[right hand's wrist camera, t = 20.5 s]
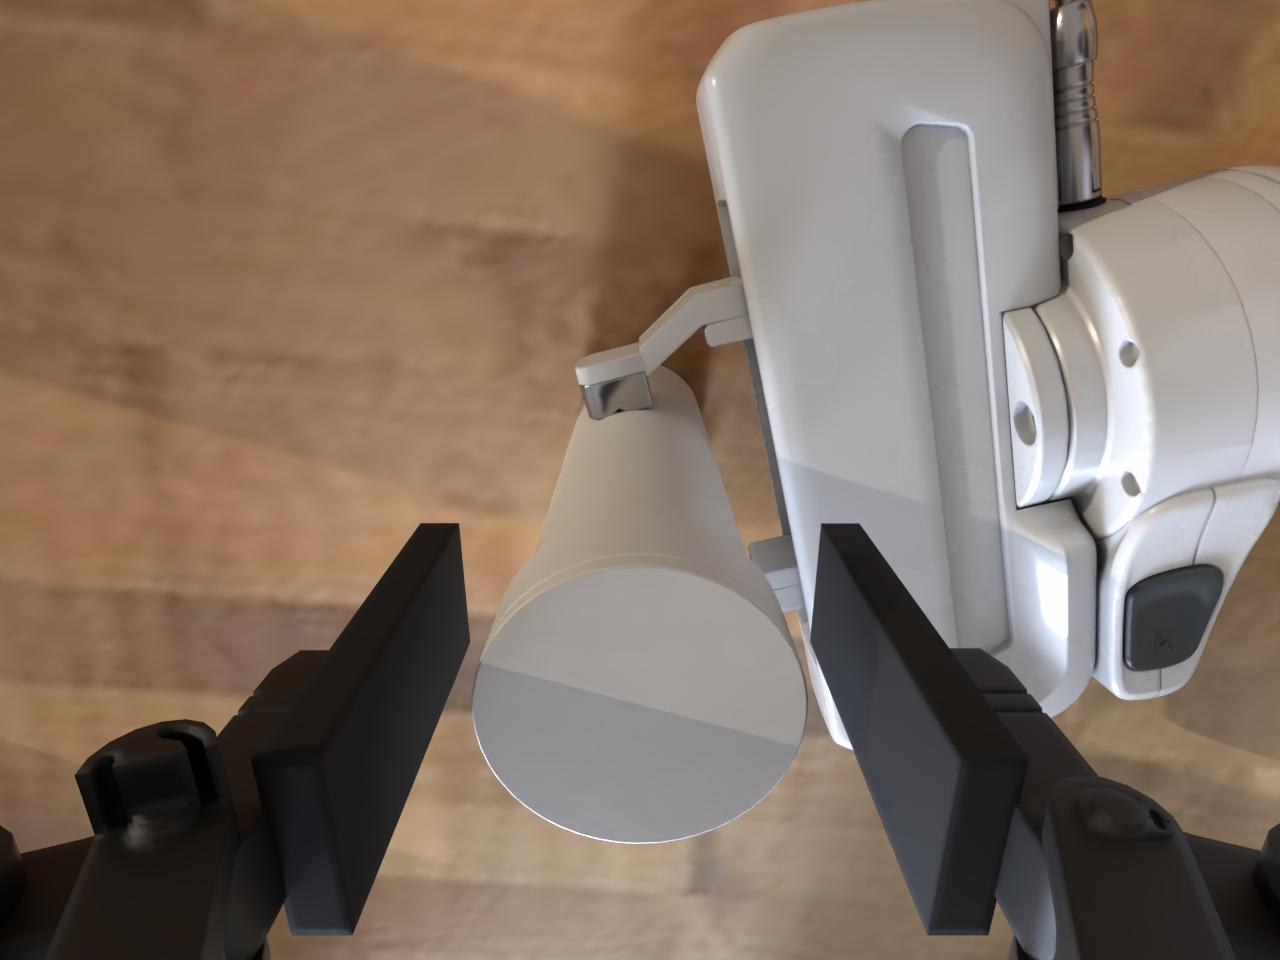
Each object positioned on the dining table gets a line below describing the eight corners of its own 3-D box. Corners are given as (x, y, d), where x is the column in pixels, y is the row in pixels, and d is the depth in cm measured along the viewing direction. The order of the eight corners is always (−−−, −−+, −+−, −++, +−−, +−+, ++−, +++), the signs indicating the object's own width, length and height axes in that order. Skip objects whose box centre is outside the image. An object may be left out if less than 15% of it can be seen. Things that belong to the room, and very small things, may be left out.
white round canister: (806, 732, 13) (833, 810, 11) (543, 786, 13) (529, 869, 12) (754, 481, 11) (775, 529, 10) (454, 551, 12) (422, 609, 10)
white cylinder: (625, 336, 25) (605, 505, 10) (724, 408, 26) (836, 658, 11) (556, 434, 26) (449, 711, 11) (653, 499, 27) (668, 834, 12)
